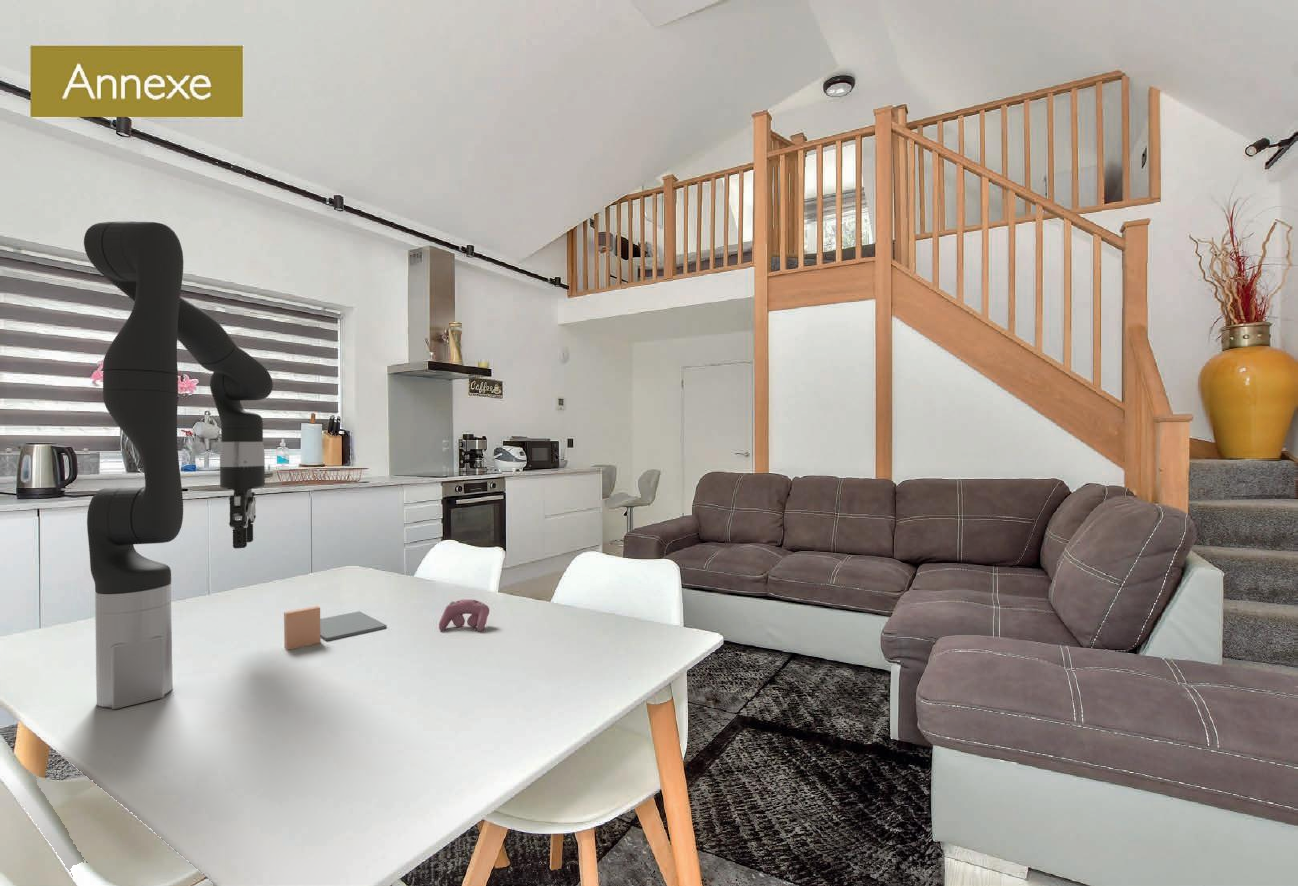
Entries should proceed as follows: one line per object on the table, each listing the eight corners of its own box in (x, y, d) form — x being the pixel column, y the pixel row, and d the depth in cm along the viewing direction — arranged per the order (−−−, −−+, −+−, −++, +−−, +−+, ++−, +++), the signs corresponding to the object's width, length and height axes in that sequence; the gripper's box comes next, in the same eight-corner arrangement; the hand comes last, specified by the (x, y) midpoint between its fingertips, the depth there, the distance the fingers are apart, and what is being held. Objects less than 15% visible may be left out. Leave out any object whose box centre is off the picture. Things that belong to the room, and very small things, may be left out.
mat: (386, 627, 131) (386, 625, 131) (326, 641, 123) (326, 638, 123) (359, 613, 142) (359, 611, 142) (302, 625, 134) (302, 622, 134)
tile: (320, 642, 122) (320, 607, 122) (286, 649, 118) (286, 613, 118) (317, 640, 123) (317, 605, 123) (284, 647, 119) (283, 612, 119)
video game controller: (488, 634, 131) (493, 601, 134) (481, 630, 127) (486, 596, 130) (444, 633, 132) (449, 601, 135) (435, 630, 128) (441, 596, 131)
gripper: (259, 464, 118) (260, 548, 118) (268, 463, 131) (269, 539, 131) (212, 465, 115) (213, 552, 115) (226, 464, 127) (227, 541, 127)
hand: (243, 545), depth 123 cm, fingers open, 8 cm apart
